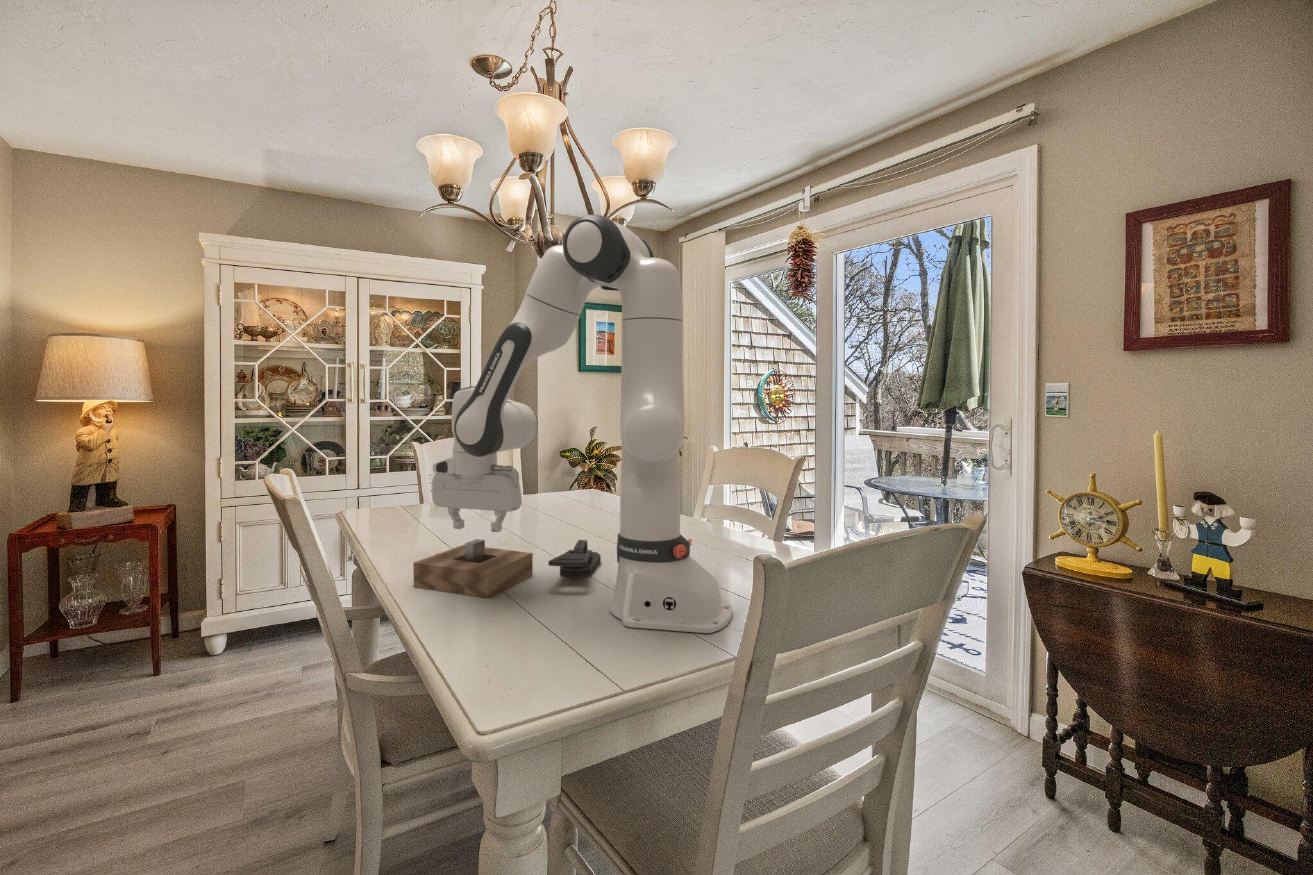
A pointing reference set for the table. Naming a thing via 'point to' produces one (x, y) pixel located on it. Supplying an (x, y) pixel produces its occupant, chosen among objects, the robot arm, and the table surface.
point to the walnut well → (473, 571)
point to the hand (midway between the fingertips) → (477, 529)
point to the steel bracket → (475, 551)
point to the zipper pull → (577, 561)
